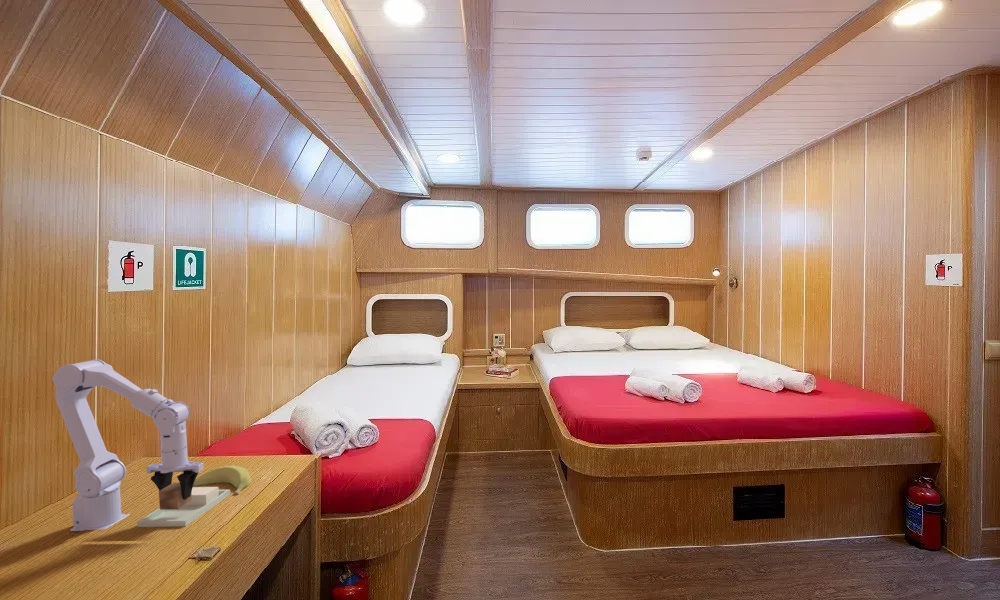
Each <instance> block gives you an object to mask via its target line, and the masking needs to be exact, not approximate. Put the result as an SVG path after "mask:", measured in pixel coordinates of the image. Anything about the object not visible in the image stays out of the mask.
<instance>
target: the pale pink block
mask: <svg viewBox="0 0 1000 600" xmlns="http://www.w3.org/2000/svg"><path fill="white" fill-rule="evenodd" d="M219 490H220V489H219V486H193V488H192V492H191V494H192V500H191V501H190V502H188V503H187V504H185V505H184V506H193V505H206V504H208V503H209V502H210V501H212V500H213V499H215V498H216V497H218V496H219Z"/></svg>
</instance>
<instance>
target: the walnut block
mask: <svg viewBox="0 0 1000 600" xmlns="http://www.w3.org/2000/svg"><path fill="white" fill-rule="evenodd" d="M158 498H159V499H158V500H159V503H158V504H159V508H160V510H170V509H179V508H181V507H182V506H184V505H185V504H187V503H188V502H190V501H191V500H192V494H191V496H190V497H189V498H187V499H183V498H182V491H181V485H180V482H172V483H171V484H170V485H169V486H167V487H165V488H164V489H162V490H160V491H159V490H158Z"/></svg>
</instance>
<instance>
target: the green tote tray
mask: <svg viewBox="0 0 1000 600" xmlns="http://www.w3.org/2000/svg"><path fill="white" fill-rule="evenodd" d="M218 490H219V496H218V497H216V498H215V499H213V500H212V501H210V502H209V503H208V504H206V505H193V506H182V507H181V508H179V509H170V510H160V507H159V508H157V509H156V510H154V511H151V512H150V513H149V514H147V515H146V516H144V517H142V518H141V519H139V520H137V522H136V523H137V524H136V525H137V526H136V527H137V528H157V527H163V528H164V527H165V528H167V527H169V528H170V527H171V528H172V527H175V528H176V527H188V526H189V525H190V524H191V523H193V522H194V521H195V520H197V519H198V518H200V517H202V515H204V514H205V513H207V512H208V511H209V510H211V509H212V508H213V507H215V506H216V505H218V504H219V503H220V502H222V501H223V500H224V499H226V498H228V497H229V496H230V495H231V489H218Z"/></svg>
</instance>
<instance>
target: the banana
mask: <svg viewBox="0 0 1000 600" xmlns="http://www.w3.org/2000/svg"><path fill="white" fill-rule="evenodd" d="M251 482H252V479H251V476H250V473H249V472H248V470H247V469H246V468H245V467H243V466H239V465H225V466H220V467H217V468H214V469H211V470H208V471H206V472H205V473H202V474H200V475H199V476H197V477H196V479H195V481H194V484H193V487H199V486H203V485H207V484H209V485H210V484H217V483H220V484H221V483H228V484H230V485H233V486H234V488H236V490H235V491H234V492H233V494H232V495H233V496H235V495H240V493H241V491H242V490H243V489H245V488H247V487H248V486H249V485H250V484H251Z"/></svg>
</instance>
